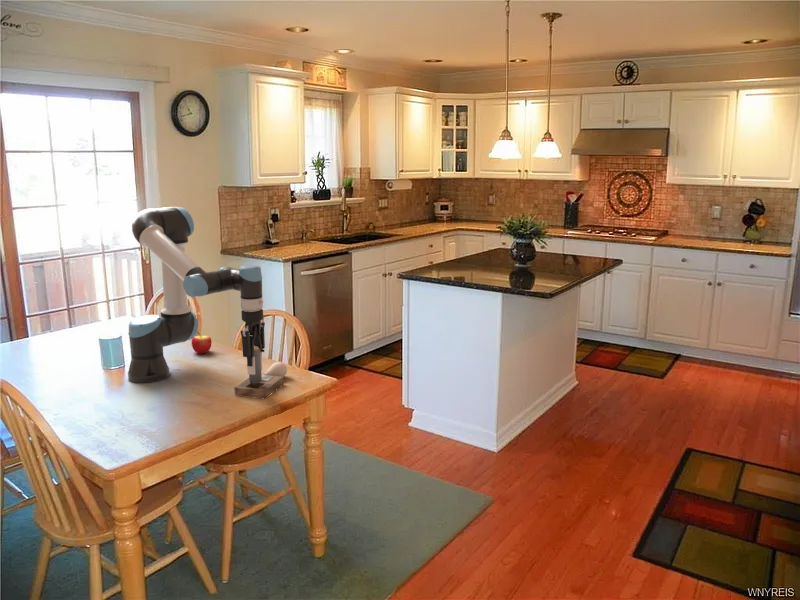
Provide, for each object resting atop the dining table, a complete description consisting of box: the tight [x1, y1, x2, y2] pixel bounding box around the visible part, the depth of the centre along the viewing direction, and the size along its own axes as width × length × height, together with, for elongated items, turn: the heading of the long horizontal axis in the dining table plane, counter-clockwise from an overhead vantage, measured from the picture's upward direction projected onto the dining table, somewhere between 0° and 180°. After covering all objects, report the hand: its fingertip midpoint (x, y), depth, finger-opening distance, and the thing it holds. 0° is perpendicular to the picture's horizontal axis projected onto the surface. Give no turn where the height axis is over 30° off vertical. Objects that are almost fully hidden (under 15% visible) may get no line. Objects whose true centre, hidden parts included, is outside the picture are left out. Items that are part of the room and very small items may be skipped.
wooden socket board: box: [234, 374, 285, 400], centre depth 236 cm, size 12×15×3 cm
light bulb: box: [261, 361, 288, 378], centre depth 247 cm, size 7×7×11 cm
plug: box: [248, 346, 262, 383], centre depth 230 cm, size 4×4×13 cm
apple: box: [191, 331, 213, 355], centre depth 277 cm, size 8×8×10 cm
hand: (255, 371), depth 231 cm, fingers closed on plug, 4 cm apart
